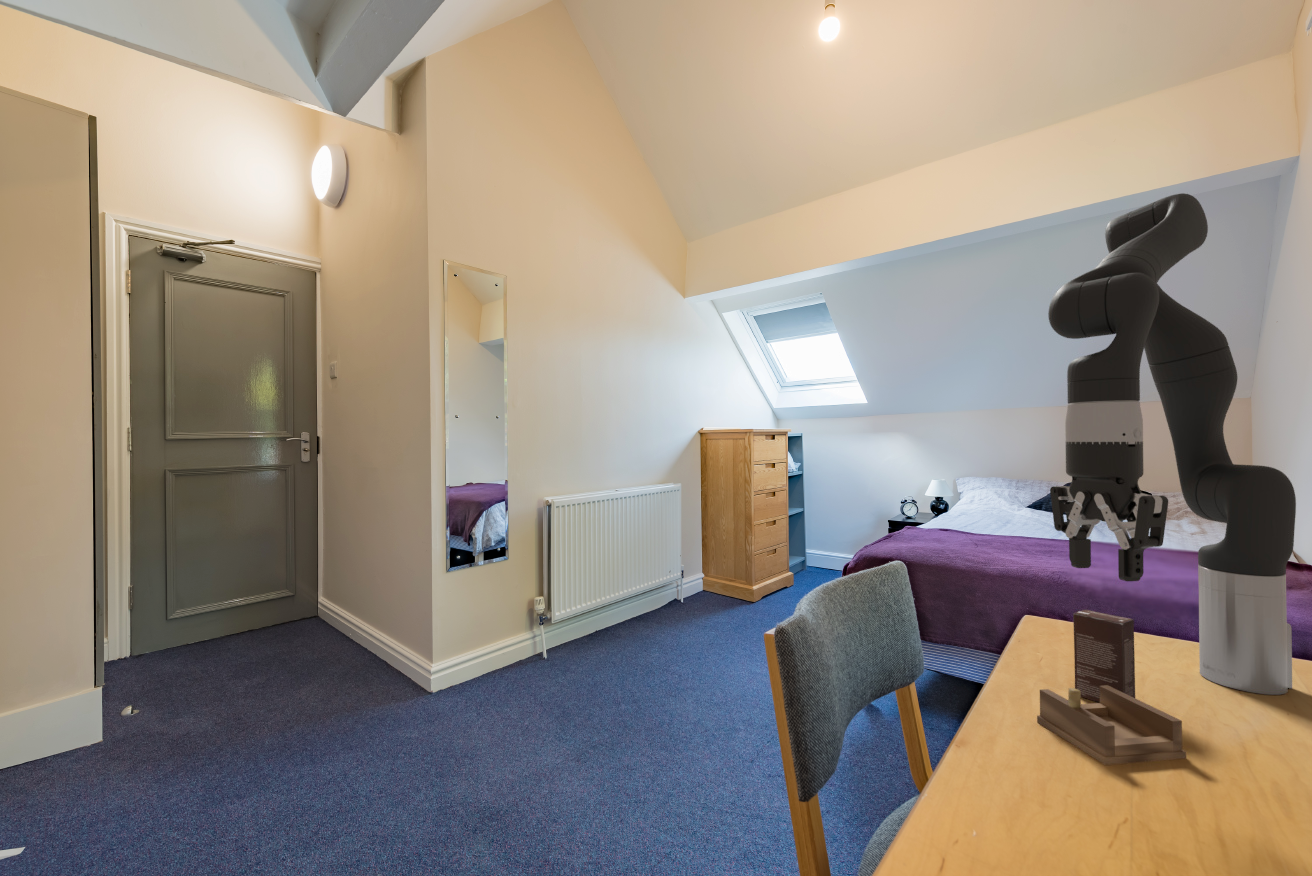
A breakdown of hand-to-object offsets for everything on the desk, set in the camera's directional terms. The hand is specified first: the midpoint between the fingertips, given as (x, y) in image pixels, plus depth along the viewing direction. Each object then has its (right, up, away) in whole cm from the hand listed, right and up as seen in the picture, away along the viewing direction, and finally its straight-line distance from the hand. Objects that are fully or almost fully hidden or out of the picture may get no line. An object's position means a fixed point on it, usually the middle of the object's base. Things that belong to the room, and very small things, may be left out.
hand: (1104, 573), depth 69 cm
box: (+9, -21, +11) cm, 25 cm away
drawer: (0, -21, 0) cm, 21 cm away
